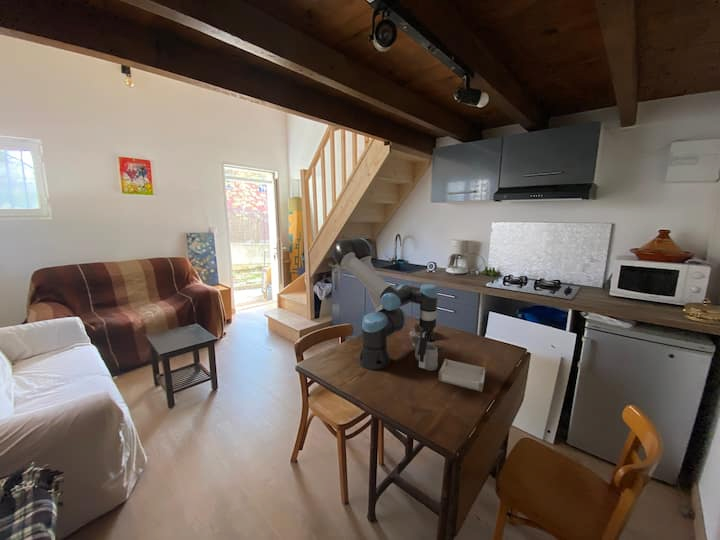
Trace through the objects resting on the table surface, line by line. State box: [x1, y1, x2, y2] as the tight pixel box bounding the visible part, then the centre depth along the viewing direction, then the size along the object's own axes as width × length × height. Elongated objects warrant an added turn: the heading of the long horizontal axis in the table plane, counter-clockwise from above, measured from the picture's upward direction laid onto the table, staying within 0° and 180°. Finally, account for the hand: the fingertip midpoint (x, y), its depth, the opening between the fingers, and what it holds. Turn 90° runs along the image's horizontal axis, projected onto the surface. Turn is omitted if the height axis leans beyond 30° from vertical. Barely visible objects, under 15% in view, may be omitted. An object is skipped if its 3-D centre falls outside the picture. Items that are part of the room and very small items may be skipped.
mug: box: [414, 339, 439, 371], centre depth 138 cm, size 8×12×12 cm, turn 48°
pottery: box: [408, 321, 436, 348], centre depth 165 cm, size 11×25×12 cm, turn 154°
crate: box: [437, 358, 486, 393], centre depth 128 cm, size 18×14×4 cm
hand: (425, 360), depth 138 cm, fingers open, 13 cm apart
